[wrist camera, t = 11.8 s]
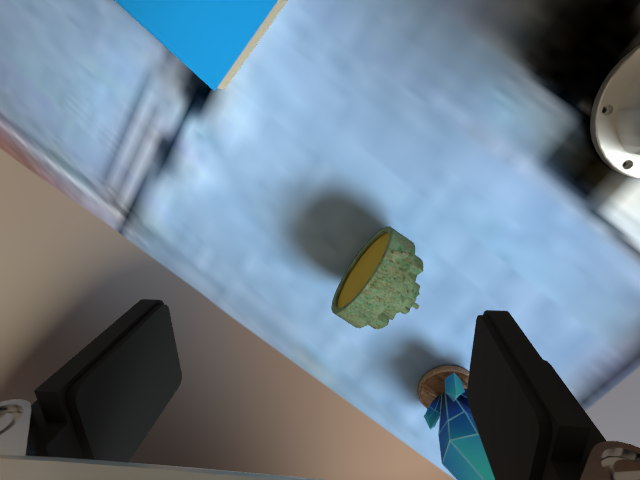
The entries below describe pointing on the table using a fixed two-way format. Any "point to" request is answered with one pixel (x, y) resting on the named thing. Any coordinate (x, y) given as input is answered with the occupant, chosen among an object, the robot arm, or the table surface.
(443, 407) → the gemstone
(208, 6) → the book
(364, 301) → the decorative artifact
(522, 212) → the table surface
